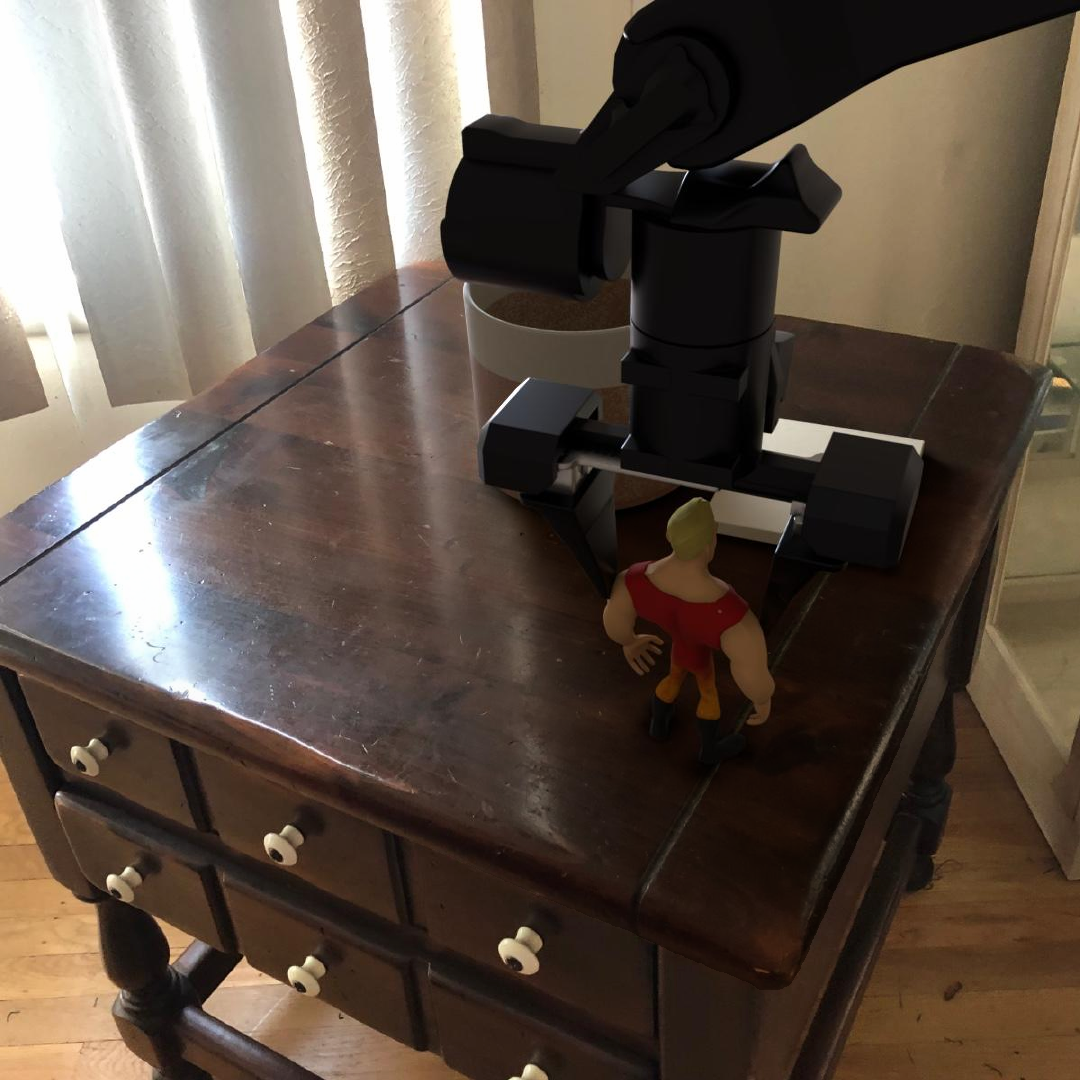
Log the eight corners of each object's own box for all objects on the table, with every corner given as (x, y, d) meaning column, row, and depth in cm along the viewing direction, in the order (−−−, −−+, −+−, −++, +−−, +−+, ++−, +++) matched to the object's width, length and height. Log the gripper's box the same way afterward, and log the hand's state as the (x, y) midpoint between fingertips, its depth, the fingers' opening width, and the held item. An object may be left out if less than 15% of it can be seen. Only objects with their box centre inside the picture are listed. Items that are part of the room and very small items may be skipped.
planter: (709, 408, 88) (715, 234, 80) (692, 528, 75) (697, 337, 67) (507, 400, 91) (492, 231, 83) (458, 514, 78) (435, 329, 70)
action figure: (790, 754, 59) (809, 514, 50) (755, 799, 57) (768, 556, 48) (636, 684, 64) (629, 454, 55) (598, 722, 62) (585, 490, 53)
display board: (923, 452, 81) (925, 440, 81) (888, 566, 71) (890, 553, 70) (755, 426, 85) (756, 414, 85) (700, 530, 75) (701, 518, 75)
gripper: (968, 268, 49) (911, 558, 58) (562, 217, 55) (569, 487, 65) (930, 389, 41) (870, 704, 50) (459, 314, 47) (484, 607, 56)
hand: (686, 612), depth 56 cm, fingers closed on action figure, 7 cm apart
